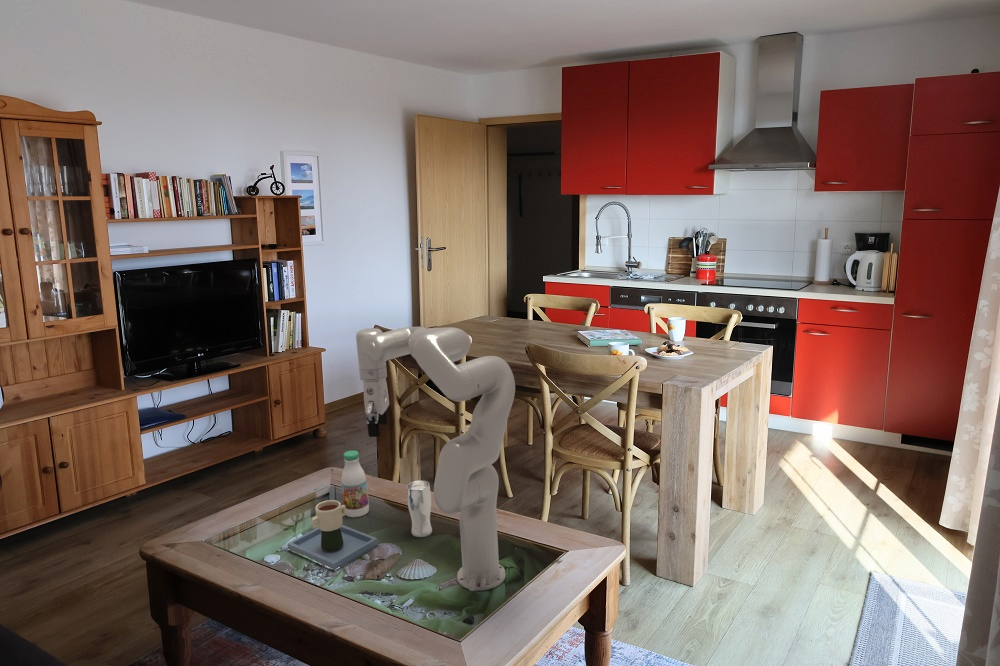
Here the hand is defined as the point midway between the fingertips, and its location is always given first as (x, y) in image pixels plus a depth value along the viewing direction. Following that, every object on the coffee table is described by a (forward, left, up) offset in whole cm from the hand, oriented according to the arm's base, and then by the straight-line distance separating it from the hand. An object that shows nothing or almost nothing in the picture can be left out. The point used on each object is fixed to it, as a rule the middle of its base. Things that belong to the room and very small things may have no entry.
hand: (378, 430), depth 208 cm
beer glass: (0, -10, -32) cm, 34 cm away
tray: (-9, +14, -32) cm, 36 cm away
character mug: (-10, +14, -32) cm, 36 cm away
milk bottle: (+13, +13, -32) cm, 37 cm away
